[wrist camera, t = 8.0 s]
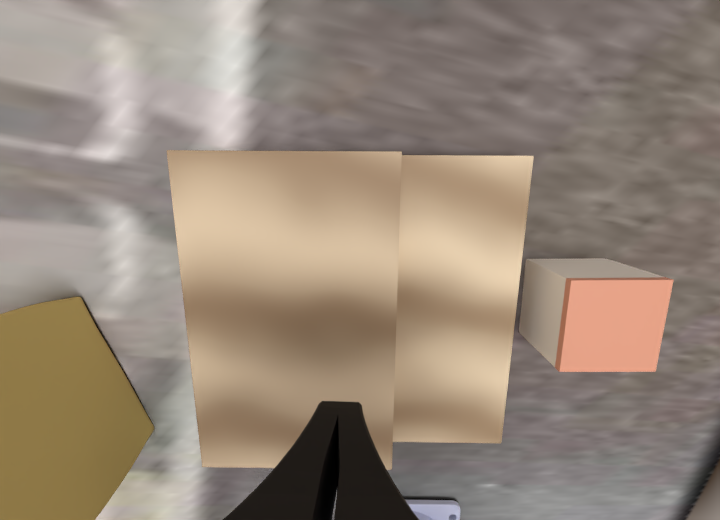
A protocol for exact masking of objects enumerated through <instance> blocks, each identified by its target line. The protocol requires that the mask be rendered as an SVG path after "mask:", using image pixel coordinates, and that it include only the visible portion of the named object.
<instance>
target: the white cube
mask: <svg viewBox="0 0 720 520" xmlns="http://www.w3.org/2000/svg"><path fill="white" fill-rule="evenodd" d="M672 285H673V280H672V279H669V278H666V277H663V276H660V275H657V274H653V273H650V272H647V271H644V270H641V269H638V268H635V267H631V266H628V265H625V264H622V263H619V262H616V261H612V260H609V259H606V258H587V259H526V264H525V274H524V284H523V294H522V305H521V315H520V325H519V333H520V334H521V335H522V336H523V337H524V338H525V339H526V340H527V341H528V342H529V343H530V344H531V345H532V346H533V347H534V348H535V349H537V350H538V351H539V352H540V353H541V354H542V355H543V356H544V357H545V358H546V359H547V360H548V361H549V362H550V363H551V364H552V365H553V366H554V367H555V368H556V369H557V370H558V371H559V372H655V371H656V366H657V361H658V356H659V351H660V346H661V341H662V336H663V331H664V326H665V321H666V316H667V310H668V305H669V300H670V295H671V290H672Z"/></svg>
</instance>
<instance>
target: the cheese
mask: <svg viewBox="0 0 720 520" xmlns="http://www.w3.org/2000/svg"><path fill="white" fill-rule="evenodd" d="M153 430H154V426H153V424H152V422H151V420H150V419H149V417H148V415H147V414H146V412H145V410H144V408H143V406H142V405H141V403H140V401H139V399H138V397H137V396H136V394H135V392H134V390H133V388H132V387H131V385H130V383H129V381H128V380H127V378H126V376H125V374H124V372H123V371H122V369H121V367H120V366H119V364H118V362H117V361H116V359H115V357H114V355H113V354H112V352H111V350H110V349H109V347H108V345H107V344H106V342H105V341H104V339H103V337H102V336H101V334H100V332H99V331H98V329H97V327H96V325H95V323H94V322H93V320H92V318H91V316H90V314H89V312H88V310H87V308H86V306H85V304H84V302H83V300H82V298H81V297H73V298H67V299H61V300H55V301H49V302H43V303H38V304H34V305H30V306H26V307H23V308H19V309H16V310H12V311H9V312H6V313H3V314H0V520H95V519H96V517H97V516H98V515H99V514H100V512H101V511H102V510H103V508H104V507H105V505H106V504H107V503H108V501H109V500H110V498H111V497H112V495H113V494H114V492H115V491H116V490H117V488H118V487H119V485H120V484H121V482H122V481H123V479H124V478H125V476H126V475H127V473H128V472H129V470H130V469H131V467H132V465H133V464H134V462H135V460H136V459H137V457H138V455H139V454H140V452H141V450H142V448H143V447H144V445H145V443H146V442H147V440H148V438H149V437H150V435H151V434H152V432H153Z"/></svg>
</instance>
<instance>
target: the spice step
mask: <svg viewBox="0 0 720 520" xmlns="http://www.w3.org/2000/svg"><path fill="white" fill-rule="evenodd" d="M533 157H534V156H451V155H402V152H369V151H186V150H167V158H168V167H169V176H170V185H171V194H172V202H173V211H174V220H175V229H176V238H177V247H178V256H179V264H180V273H181V282H182V291H183V300H184V309H185V318H186V326H187V335H188V344H189V353H190V362H191V371H192V380H193V388H194V397H195V406H196V415H197V424H198V433H199V442H200V450H201V459H202V467H240V468H275V467H276V466H277V465H278V464H279V462H280V461H281V460H282V458H283V457H284V456H285V455H286V453H287V452H288V451H289V450H290V448H291V447H292V446H293V444H294V443H295V442H296V440H297V439H298V437H299V436H300V434H301V433H302V431H303V430H304V428H305V427H306V425H307V424H308V422H309V421H310V419H311V417H312V416H313V414H314V412H315V410H316V408H317V406H318V404H319V403H320V402H321V401H343V402H359V403H360V404H361V405H362V410H363V415H364V418H365V422H366V425H367V428H368V431H369V433H370V436H371V438H372V440H373V443H374V445H375V447H376V450H377V452H378V454H379V456H380V458H381V460H382V462H383V464H384V466H385V468H386V470H392V446H393V442H447V443H501V440H502V431H503V422H504V414H505V405H506V396H507V387H508V378H509V369H510V360H511V352H512V343H513V334H514V325H515V316H516V307H517V298H518V290H519V281H520V272H521V263H522V254H523V245H524V236H525V228H526V219H527V210H528V201H529V192H530V183H531V174H532V166H533Z"/></svg>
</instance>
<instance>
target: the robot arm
mask: <svg viewBox="0 0 720 520" xmlns="http://www.w3.org/2000/svg"><path fill="white" fill-rule="evenodd" d="M336 490H337V501H336V510H335V519H334V520H460V506H459V504H458V502H456V501H453V500H405V499H404V498H403V496H402V495H401V493H400V492H399V490H398V488H397V487H396V485H395V484H394V482H393V480H392V479H391V477H390V475H389V473H388V471H387V470H386V468H385V466H384V464H383V462H382V460H381V458H380V456H379V454H378V452H377V450H376V447H375V445H374V443H373V440H372V438H371V436H370V433H369V431H368V428H367V425H366V422H365V418H364V415H363V410H362V405H361V404H360V403H359V402H343V401H321V402H320V403H319V404H318V406H317V408H316V410H315V412H314V414H313V416H312V417H311V419H310V421H309V422H308V424H307V425H306V427H305V428H304V430H303V431H302V433H301V434H300V436H299V437H298V439H297V440H296V442H295V443H294V444H293V446H292V447H291V448H290V450H289V451H288V452H287V453H286V455H285V456H284V457H283V458H282V460H281V461H280V462H279V464H278V465H277V466H276V467H275V468H274V469H273V471H272V472H271V473H270V474H269V475H268V476H267V477H266V479H265V480H264V481H263V482H262V483H261V484H260V485H259V486H258V487H257V488H256V489H255V490H254V491H253V492H252V493H251V494H250V495H249V496H248V497H247V498H246V499H245V500H244V501H243V502H242V503H241V504H240V505H239V506H238V507H237V508H235V509H234V510H233V511H232V512H231V513H230V514H229V515H228V516H227V517H225V518H224V519H223V520H332V514H333V508H334V502H335V496H336ZM451 514H453V515H451Z"/></svg>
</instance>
